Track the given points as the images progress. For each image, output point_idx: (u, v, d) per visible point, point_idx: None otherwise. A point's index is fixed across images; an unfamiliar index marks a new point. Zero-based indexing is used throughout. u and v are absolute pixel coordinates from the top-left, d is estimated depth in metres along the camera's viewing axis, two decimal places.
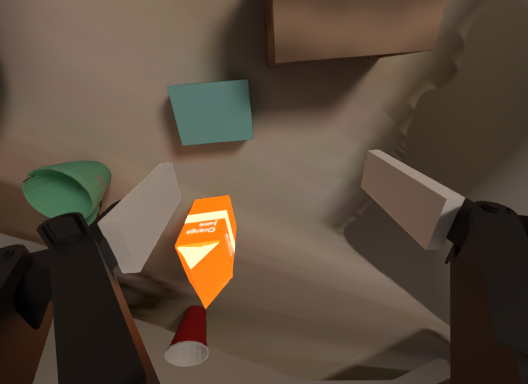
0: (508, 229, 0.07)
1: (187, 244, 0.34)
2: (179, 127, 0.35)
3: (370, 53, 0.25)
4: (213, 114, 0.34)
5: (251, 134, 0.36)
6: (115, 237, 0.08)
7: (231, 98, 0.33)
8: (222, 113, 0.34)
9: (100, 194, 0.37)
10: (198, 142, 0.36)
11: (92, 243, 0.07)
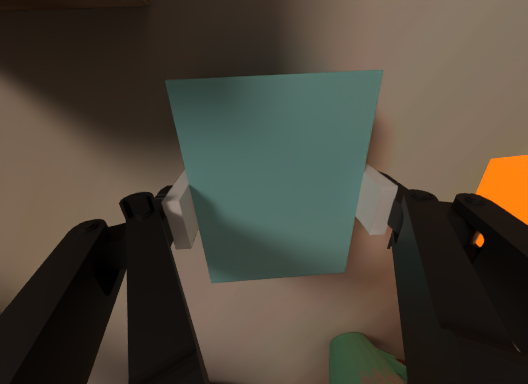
0: (432, 213, 0.08)
1: None
2: (301, 272, 0.14)
3: None
4: (279, 199, 0.12)
5: (362, 77, 0.09)
6: (174, 215, 0.10)
7: (232, 144, 0.10)
8: (277, 175, 0.11)
9: None
10: (346, 241, 0.13)
11: (158, 221, 0.08)
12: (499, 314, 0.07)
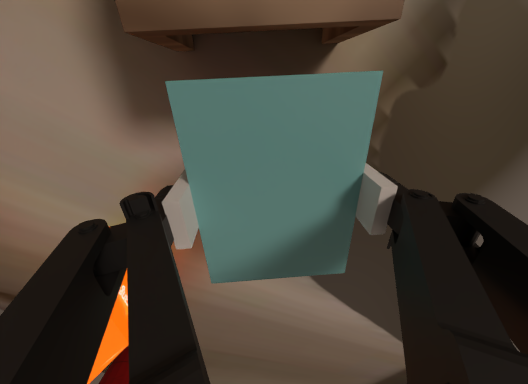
0: (432, 213, 0.08)
1: None
2: (301, 273, 0.14)
3: (291, 20, 0.15)
4: (279, 200, 0.12)
5: (362, 78, 0.09)
6: (175, 215, 0.10)
7: (232, 145, 0.10)
8: (277, 176, 0.11)
9: None
10: (346, 241, 0.13)
11: (158, 221, 0.08)
12: (499, 314, 0.07)
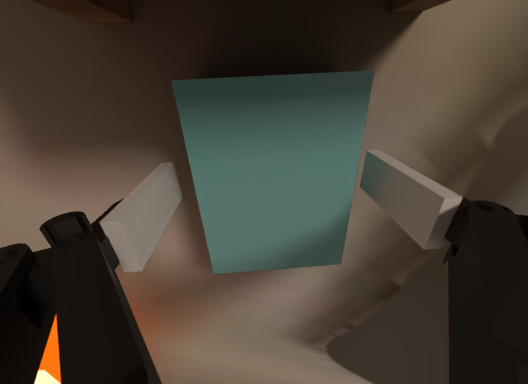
0: (505, 229, 0.07)
1: None
2: (299, 264, 0.15)
3: None
4: (277, 193, 0.12)
5: (355, 77, 0.10)
6: (117, 236, 0.09)
7: (233, 140, 0.11)
8: (275, 169, 0.12)
9: None
10: (342, 233, 0.14)
11: (94, 242, 0.07)
12: None
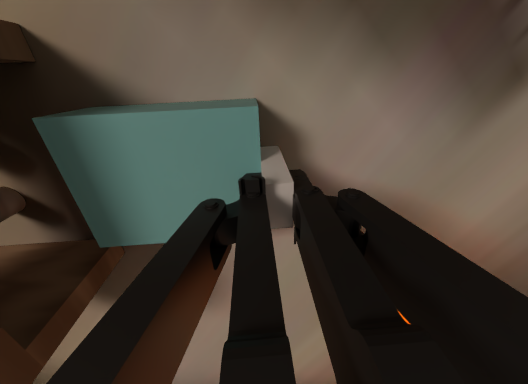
0: (321, 205, 0.09)
1: None
2: (256, 158, 0.13)
3: None
4: (166, 185, 0.14)
5: (44, 133, 0.12)
6: (272, 197, 0.11)
7: (127, 217, 0.15)
8: (144, 188, 0.14)
9: None
10: (207, 114, 0.12)
11: (264, 203, 0.09)
12: (393, 298, 0.07)
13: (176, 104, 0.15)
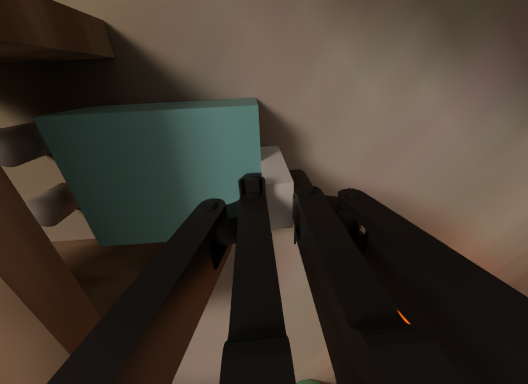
0: (321, 206, 0.09)
1: None
2: (256, 157, 0.13)
3: None
4: (166, 184, 0.14)
5: (45, 132, 0.12)
6: (272, 197, 0.11)
7: (127, 216, 0.15)
8: (144, 187, 0.14)
9: None
10: (208, 113, 0.12)
11: (265, 203, 0.09)
12: (393, 298, 0.07)
13: (176, 103, 0.15)
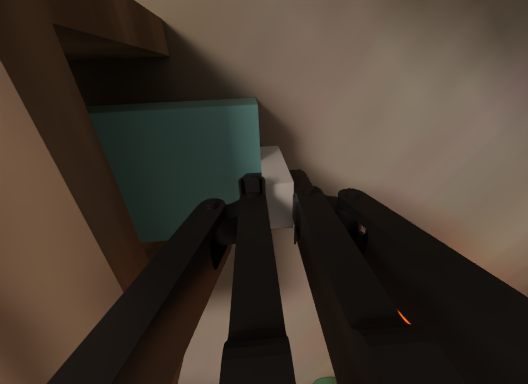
0: (321, 206, 0.09)
1: None
2: (255, 156, 0.13)
3: (86, 233, 0.07)
4: (167, 183, 0.14)
5: None
6: (272, 197, 0.11)
7: None
8: (144, 186, 0.14)
9: None
10: (208, 112, 0.12)
11: (264, 203, 0.09)
12: (393, 298, 0.07)
13: (176, 103, 0.15)
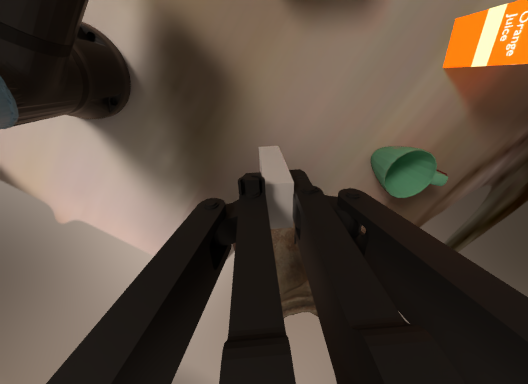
0: (321, 206, 0.09)
1: None
2: None
3: None
4: None
5: None
6: (272, 197, 0.11)
7: None
8: None
9: None
10: None
11: (264, 203, 0.09)
12: (393, 298, 0.07)
13: None
